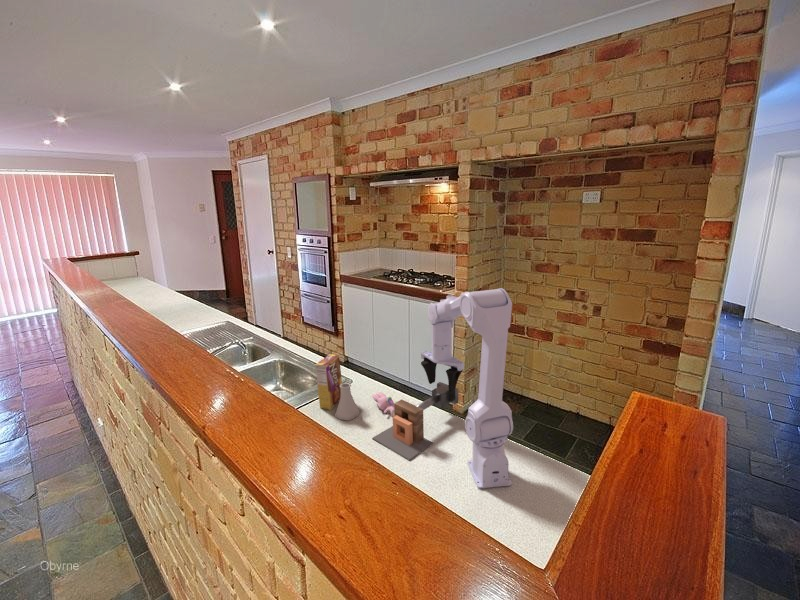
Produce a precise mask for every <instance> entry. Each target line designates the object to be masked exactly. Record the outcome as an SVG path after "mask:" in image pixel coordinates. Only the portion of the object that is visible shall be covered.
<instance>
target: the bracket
mask: <svg viewBox="0 0 800 600" xmlns="http://www.w3.org/2000/svg"><path fill="white" fill-rule="evenodd" d="M394 411H395V416H396V415H397V416H399V417H401V418H403V419H405V420H407V421H409V422H411V423H412V426H413V443H415V444H417V443H419V442H420V441H422V440H423V439H424V438H425V437H424V435H425V434H424V431H425V430H424V428H425V427H424V410H423V409H422V408H420V407H417V405H415V404H413V403H410V402H409V401H407V400H404V399H400V400H398V401H396V402H394ZM406 413H407V414H408V417H407V415H406ZM400 429H401V432H402V433H404V434H405V428H404V427H402V426H400Z"/></svg>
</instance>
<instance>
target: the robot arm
mask: <svg viewBox="0 0 800 600" xmlns="http://www.w3.org/2000/svg"><path fill="white" fill-rule="evenodd" d="M512 309H513V302H512V299H511V298H510V295H509V293H508V292H507V290H505V288H503V287H499V288H496V289H486V290H477V291H465V292H461V293H460V295H459V296H454V295H453V294H448V295H446V298H445V299H440V300H439V302H436V303H434V302H430V303H429V304H428V306H427V317H428V320H429V322H430V324H431V325H430V326H431V351H427V350H423V351H421V352H420V359H422V361H421V362H420V365H421V367H422V368H423V370H424V372H425V374H426V378H427V381H428V383H429V385H431V384H434V383H435V382H436V377H437V375H436V374H437V372H436V371H437V364H439V365H443V366H447V367H450V368H448V369H445V373H446V376H447V380H448V385H449V391H450V392H452V391H454V390H455V388H457V383H458V380H459V378H460V376H461V374H462V373H463V372H464V370H465V362H463V361H460V360H459V359H458V358H455V357H454V356H453V354H452V352H453V351H452V349H453V348H452V346H453V345H452V341H453V338H452V337H453V335H452V334H453V333H452V331H453V330H452V329H453V328H454V324H455V323H454V322H455V320H456V319H457V318H460V317H461V316H462V317H464V319H465V321H466V323H467V324H468V326H469V327H470V329H471V330H472V332H473V333H476V334H478V335H481V337H482V338H481V339H482V340H481V341H482V342H481V352H480V368H479V381H478V382H479V383H478V398H477V400H476V401H475V402H473V403H472V404H471V405H470V406H469V407H468V409H467V410H468V411H467V414H466V417H465V420H464V427H465V431H466V435H467V437H468V439H469V440H470V441H471V442H472V459H469V460H467V465H468V468H469V470H470V472H471V475H472V477H473V480H474V482H475V485H476V487H477V489H486V488H488V489H489V488H497V487H499V488H500V487H507V486H512V485H513V483H512V480H511V478H510V476H509V467H510V466H509V460H508V457H507V454H506V452H505V442H506V441H508V436H511V434H512V433H513V430H514V423H513V415H512V412H513V410H512V409H511V408H510V406H509V405H508V404H507V403H506V402H505V401H503V393H504V382H505V370H506V368H505V367H506V360H507V349H508V338H509V336H508V335H509V328H511V321H512V311H513V310H512Z"/></svg>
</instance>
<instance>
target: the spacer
mask: <svg viewBox="0 0 800 600" xmlns="http://www.w3.org/2000/svg"><path fill="white" fill-rule="evenodd" d="M392 426H393V437H395V438H396V439H398V440H400V441H402V442H404V443H406V444H407V445H411V444H412V443H413V426H412V423H411V422H409V421H407V420H405V419H403V418H401V417H399V416H397V415H396V416H394V417H393V418H392ZM400 426H402V427H404V428H405V434H404V433H402V432H401V429H400Z"/></svg>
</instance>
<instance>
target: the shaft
mask: <svg viewBox="0 0 800 600" xmlns="http://www.w3.org/2000/svg"><path fill="white" fill-rule="evenodd" d="M450 403H451V404H454V405H457V404H458V403H459V388H458V387H456V388H455V390H454V391H452V392H450V391H449V384H447V383H444V382H441V381H439V382H437V383H436V388H434V389H432V390H431V397H429V398H428V399H426V400H424V401H422V402H421V403H419V404H417V405H416V406H417V407H420V408H422V409H423V411H425V410H426V409H428V408H430V407H431V406H435V407H438V408H440V409H443V408H444V407H446V406H447V405H449V404H450ZM406 415H407V417H408V414H407V413H406Z"/></svg>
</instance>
